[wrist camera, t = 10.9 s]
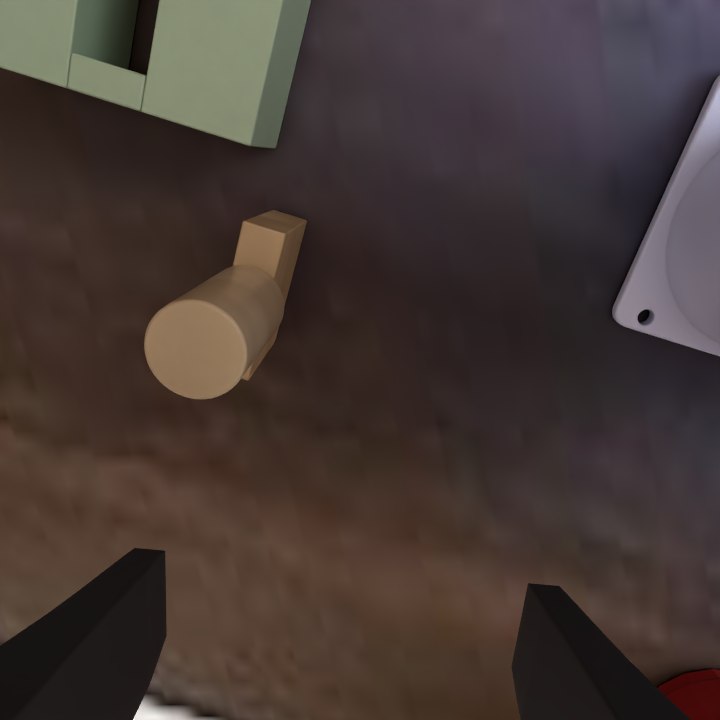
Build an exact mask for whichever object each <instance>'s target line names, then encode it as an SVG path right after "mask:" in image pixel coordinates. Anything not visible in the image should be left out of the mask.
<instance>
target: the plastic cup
mask: <svg viewBox="0 0 720 720" xmlns="http://www.w3.org/2000/svg"><path fill="white" fill-rule="evenodd" d="M658 689H659V690H660V691H661V692H662V693H663V694H664V695H665V696H666V697H667V698H668V699H670V700H671V701H672V702H673V703H674V704H675V705H676V706H677V707H678V708H679V709H680V710H681V711H682V712H683V713H685V714H686V715H687V716H688V717H689V718H690V719H691V720H720V670H716V669H709V670H703V671H697V672H691V673H685V674H682V675H680V676H678V677H676V678H674V679H672V680H670V681H668V682H666V683H664V684H662V685H660V686H659V687H658Z"/></svg>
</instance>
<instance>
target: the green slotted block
mask: <svg viewBox="0 0 720 720" xmlns="http://www.w3.org/2000/svg"><path fill="white" fill-rule="evenodd" d="M310 3H311V0H159V6H158V12H157V18H156V24H155V30H154V36H153V42H152V48H151V54H150V60H149V66H148V72H147V76H146V75H143V74H140V73H136V72H133V71H130V70H128V68H129V61H130V55H131V48H132V42H133V36H134V29H135V23H136V16H137V10H138V4H139V0H0V68H3V69H7V70H10V71H13V72H16V73H19V74H22V75H26V76H29V77H32V78H35V79H38V80H42V81H45V82H48V83H51V84H54V85H57V86H61V87H64V88H68V89H70V90H73V91H76V92H80V93H83V94H86V95H89V96H92V97H95V98H99V99H102V100H105V101H108V102H111V103H114V104H118V105H121V106H124V107H127V108H130V109H133V110H137V111H141V112H143V113H146V114H149V115H152V116H156V117H159V118H162V119H165V120H168V121H171V122H175V123H178V124H181V125H184V126H187V127H190V128H194V129H197V130H200V131H203V132H206V133H209V134H213V135H216V136H219V137H222V138H225V139H228V140H232V141H235V142H238V143H241V144H244V145H247V146H254V147H263V148H273V149H275V148H276V145H277V141H278V137H279V133H280V129H281V125H282V120H283V116H284V112H285V108H286V104H287V99H288V95H289V91H290V87H291V83H292V79H293V74H294V70H295V66H296V62H297V58H298V53H299V49H300V45H301V41H302V37H303V33H304V28H305V24H306V20H307V16H308V12H309V7H310Z"/></svg>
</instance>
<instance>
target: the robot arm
mask: <svg viewBox="0 0 720 720" xmlns="http://www.w3.org/2000/svg"><path fill="white" fill-rule="evenodd" d="M645 309H647V310H649V312H650V314H649V317H648V319H647V320H646V321H643V322H638V319H637V318H638V314H639V313H640V312H641V311H643V310H645ZM612 315H613V318H614V319H615V321H616V322H617V323H619V324H620V325H622V326H624V327H627V328H630V329H633V330H637V331H640V332H643V333H646V334H649V335H653V336H656V337H659V338H662V339H666V340H669V341H672V342H675V343H678V344H682V345H685V346H688V347H691V348H694V349H698V350H701V351H704V352H707V353H710V354H714V355H717V356H720V75H719V76H718V77H717V79H716V80H715V82H714V83H713V86H712V88H711V90H710V92H709V94H708V97H707V99H706V101H705V103H704V105H703V108H702V110H701V112H700V114H699V117H698V119H697V121H696V123H695V125H694V128H693V130H692V132H691V134H690V137H689V139H688V141H687V143H686V145H685V148H684V150H683V152H682V154H681V157H680V159H679V161H678V163H677V165H676V168H675V170H674V172H673V174H672V177H671V179H670V181H669V183H668V185H667V188H666V190H665V192H664V194H663V197H662V199H661V201H660V203H659V205H658V208H657V210H656V212H655V214H654V217H653V219H652V221H651V223H650V225H649V228H648V230H647V232H646V234H645V236H644V239H643V241H642V243H641V245H640V248H639V250H638V252H637V254H636V256H635V259H634V261H633V263H632V265H631V268H630V270H629V272H628V274H627V276H626V279H625V281H624V283H623V285H622V288H621V290H620V292H619V294H618V296H617V299H616V301H615V303H614V305H613V309H612ZM165 638H166V577H165V551H162V550H151V549H140V548H134V549H133V550H131V551H130V552H129V553H127V554H126V555H125V556H123V557H122V558H121V559H119V560H118V561H117V562H115V563H114V564H113V565H112V566H110V567H109V568H108V569H106V570H105V571H104V572H102V573H101V574H100V575H99V576H97V577H96V578H95V579H93V580H92V581H91V582H89V583H88V584H87V585H86V586H84V587H83V588H82V589H80V590H79V591H78V592H76V593H75V594H74V595H72V596H71V597H70V598H68V599H67V600H66V601H64V602H63V603H61V604H60V605H59V606H57V607H56V608H55V609H53V610H52V611H51V612H49V613H48V614H46V615H45V616H43V617H42V618H40V619H39V620H38V621H36V622H35V623H33V624H32V625H30V626H29V627H27V628H26V629H24V630H23V631H21V632H20V633H18V634H17V635H16V636H14V637H13V638H11V639H10V640H8V641H7V642H5V643H4V644H2V645H1V646H0V720H133V718H134V716H135V714H136V712H137V710H138V708H139V706H140V704H141V702H142V700H143V697H144V695H145V693H146V691H147V689H148V687H149V684H150V681H151V679H152V676H153V673H154V670H155V667H156V665H157V662H158V659H159V656H160V653H161V650H162V647H163V644H164V641H165ZM512 672H513V678H514V684H515V691H516V697H517V702H518V708H519V714H520V719H521V720H691V719H690V718H689V717H688V716H687V715H686V714H685V713H683V712H682V711H681V710H680V709H679V708H678V707H677V706H676V705H675V704H674V703H673V702H672V701H671V700H670V699H668V698H667V697H666V696H665V695H664V694H663V693H662V692H661V691H660V690H659V689H658V688H657V687H656V686H654V685H653V684H652V683H651V682H650V681H649V680H648V679H647V678H646V677H645V676H644V675H643V674H642V673H641V672H640V671H639V670H638V669H637V668H636V667H635V666H634V665H633V664H632V663H631V662H630V661H629V660H628V659H627V658H626V657H625V656H624V655H623V654H622V653H621V651H620V650H619V649H618V648H617V647H616V646H615V645H614V644H613V643H612V642H611V641H610V640H609V639H608V638H607V637H606V636H605V635H604V634H603V633H602V631H601V630H600V629H599V628H598V627H597V626H596V625H595V624H594V623H593V622H592V621H591V620H590V619H589V617H588V616H587V615H586V614H585V613H584V612H583V611H582V610H581V609H580V608H579V607H578V605H577V604H576V603H575V602H574V601H573V600H572V599H571V598H570V597H569V596H568V595H567V594H566V593H565V592H564V591H563V590H562V589H561V588H560V587H559V586H552V585H541V584H530V583H528V587H527V592H526V597H525V602H524V607H523V612H522V617H521V622H520V627H519V632H518V637H517V642H516V647H515V652H514V657H513V662H512Z"/></svg>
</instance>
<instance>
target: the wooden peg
mask: <svg viewBox="0 0 720 720" xmlns="http://www.w3.org/2000/svg"><path fill="white" fill-rule="evenodd" d="M306 223H307V221H306V220H304V219H301V218H298V217H295V216H292V215H288V214H285V213H282V212H279V211H276V210H271V211H269V212H266V213H263V214H261V215H258V216H255V217H253V218H250V219H247V220H245V221H243V223H242V227H241V231H240V236H239V240H238V245H237V249H236V253H235V258H234V262H233V266H232V267H229V268H227V269H225V270H223V271H221V272H220V273H218V274H216V275H215V276H213V277H211V278H210V279H208V280H206V281H205V282H203V283H202V284H200V285H198V286H197V287H195V288H193V289H192V290H190V291H189V292H187V293H185V294H184V295H182V296H180V297H179V298H177V299H176V300H174V301H172V302H171V303H169V304H167V305H166V306H164V307H163V308H161V309H160V310H159V311H158V312H157V313H156V314H155V315H154V316H153V318H152V319H151V321H150V323H149V325H148V327H147V330H146V333H145V340H144V349H145V355H146V359H147V362H148V364H149V367H150V369H151V370H152V372H153V374H154V375H155V376H156V378H157V379H158V380H159V381H160V382H161V383H162V384H163V385H164V386H165V387H167V388H168V389H170V390H171V391H173V392H175V393H177V394H179V395H181V396H184V397H188V398H193V399H209V398H214V397H218V396H220V395H223V394H225V393H226V392H228V391H230V390H231V389H232V388H233V387H234V386H235V385H236V384H237V383H238V382H239V381H240V379H244V380H249V379H250V377H251V376H252V374H253V373H254V371H255V370H256V369H257V367H258V366H259V364H260V363H261V361H262V360H263V358H264V357H265V356H266V354H267V353H268V351H269V350H270V348H271V347H272V345H273V344H274V342H275V340H276V337H277V333H278V329H279V325H280V323H281V321H282V319H283V315H284V306H285V303H286V299H287V295H288V291H289V288H290V284H291V280H292V276H293V272H294V269H295V265H296V261H297V257H298V254H299V250H300V246H301V242H302V238H303V235H304V231H305V227H306Z"/></svg>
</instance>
